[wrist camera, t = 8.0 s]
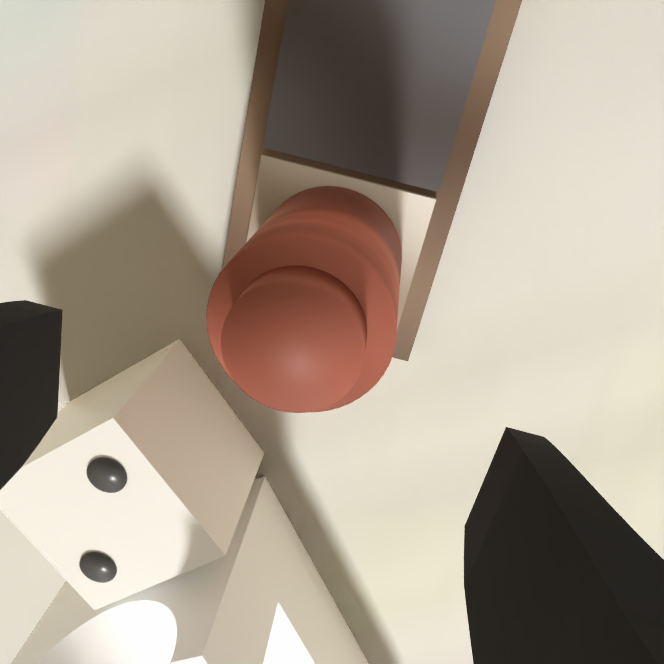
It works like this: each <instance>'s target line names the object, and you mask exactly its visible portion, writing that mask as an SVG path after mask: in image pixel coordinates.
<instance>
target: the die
mask: <svg viewBox="0 0 664 664" xmlns="http://www.w3.org/2000/svg"><path fill="white" fill-rule="evenodd" d="M263 455H264V452H263V451H262V449H261V448H260V447H259V445H258V444H257V443H256V441H255V440H254V439H253V437H252V436H251V435H250V433H249V432H248V430H247V429H246V428H245V426H244V425H243V424H242V422H241V421H240V420H239V418H238V417H237V416H236V414H235V413H234V412H233V410H232V409H231V408H230V406H229V405H228V404H227V402H226V401H225V399H224V398H223V397H222V395H221V394H220V393H219V391H218V390H217V389H216V387H215V386H214V385H213V383H212V382H211V381H210V379H209V378H208V377H207V375H206V374H205V373H204V371H203V370H202V368H201V367H200V366H199V364H198V363H197V362H196V360H195V359H194V358H193V356H192V355H191V354H190V352H189V351H188V350H187V348H186V347H185V346H184V344H183V343H182V342H181V340H180V339H178V340H176V341H175V342H173V343H171V344H169V345H168V346H166V347H164V348H162V349H161V350H159V351H157V352H155V353H154V354H152V355H150V356H148V357H147V358H145V359H143V360H141V361H140V362H138V363H136V364H134V365H133V366H131V367H129V368H127V369H126V370H124V371H122V372H120V373H119V374H117V375H115V376H113V377H112V378H110V379H108V380H106V381H105V382H103V383H101V384H99V385H98V386H96V387H94V388H92V389H91V390H89V391H87V392H85V393H84V394H82V395H80V396H78V397H77V398H75V399H73V400H71V401H70V402H69V403H68V404H67V405H66V406H65V407H64V408H63V409H62V410H61V411H60V412H59V413H58V414H57V419H56V420H55V421H54V423H53V424H52V426H51V427H50V429H49V430H48V432H47V433H46V435H45V436H44V437H43V439H42V440H41V442H40V443H39V445H38V446H37V447H36V449H35V450H34V451H33V453H32V454H31V455H30V457H29V458H28V460H27V461H26V462H25V464H24V465H23V466H22V467H21V468H20V470H19V471H18V472H17V473H16V474H15V475H14V476H13V477H12V478H11V479H10V480H9V481H8V483H7V484H6V485H5V486H4V487H3V488H2V489H1V490H0V510H1V511H2V512H3V513H4V514H5V515H6V516H7V517H8V519H9V520H10V521H11V522H12V523H13V524H14V525H15V526H16V527H17V528H18V529H19V530H20V531H21V532H22V533H23V535H24V536H25V537H26V538H27V539H28V540H29V541H30V542H31V543H32V544H33V545H34V546H35V547H36V548H37V550H38V551H39V552H40V553H41V554H42V555H43V556H44V557H45V558H46V559H47V560H48V561H49V562H50V563H51V564H52V566H53V567H54V568H55V569H56V570H57V571H58V572H59V573H60V574H61V575H62V576H63V577H64V578H65V579H66V581H67V582H68V583H69V584H70V585H71V586H72V587H73V588H74V589H75V590H76V591H77V592H78V593H79V594H80V596H81V597H82V598H83V599H84V600H85V601H86V602H87V603H88V604H89V605H90V606H91V607H92V608H93V609H94V610H97V609H99V608H101V607H104V606H106V605H109V604H111V603H113V602H116V601H118V600H121V599H123V598H125V597H128V596H130V595H132V594H135V593H137V592H140V591H142V590H144V589H147V588H149V587H152V586H154V585H156V584H159V583H161V582H163V581H166V580H168V579H171V578H173V577H175V576H178V575H180V574H183V573H185V572H187V571H190V570H192V569H194V568H197V567H199V566H202V565H204V564H206V563H209V562H211V561H214V560H216V559H218V558H221V557H223V556H225V555H226V553H227V550H228V547H229V545H230V542H231V540H232V537H233V534H234V532H235V529H236V526H237V524H238V521H239V518H240V516H241V513H242V511H243V508H244V505H245V503H246V500H247V497H248V495H249V492H250V490H251V487H252V484H253V482H254V479H255V476H256V474H257V471H258V468H259V466H260V463H261V461H262V458H263Z"/></svg>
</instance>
